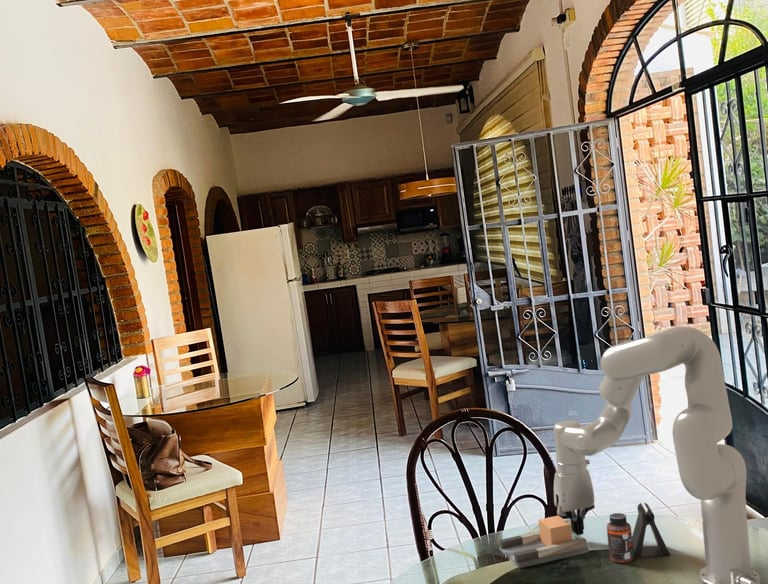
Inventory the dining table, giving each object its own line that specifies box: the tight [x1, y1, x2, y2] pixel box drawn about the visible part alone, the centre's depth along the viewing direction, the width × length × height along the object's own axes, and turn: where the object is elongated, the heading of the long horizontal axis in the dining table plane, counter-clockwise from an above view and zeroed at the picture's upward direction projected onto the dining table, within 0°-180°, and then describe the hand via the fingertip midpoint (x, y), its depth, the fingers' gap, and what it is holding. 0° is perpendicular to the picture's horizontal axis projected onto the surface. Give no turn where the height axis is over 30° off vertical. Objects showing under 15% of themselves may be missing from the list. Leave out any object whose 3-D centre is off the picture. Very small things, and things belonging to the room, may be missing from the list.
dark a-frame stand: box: [632, 502, 671, 559], centre depth 189 cm, size 9×6×12 cm, turn 82°
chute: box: [498, 530, 590, 569], centre depth 198 cm, size 13×20×3 cm, turn 104°
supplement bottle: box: [606, 512, 635, 564], centre depth 187 cm, size 6×6×11 cm
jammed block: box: [537, 515, 573, 546], centre depth 198 cm, size 7×6×6 cm
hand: (578, 532), depth 200 cm, fingers closed
